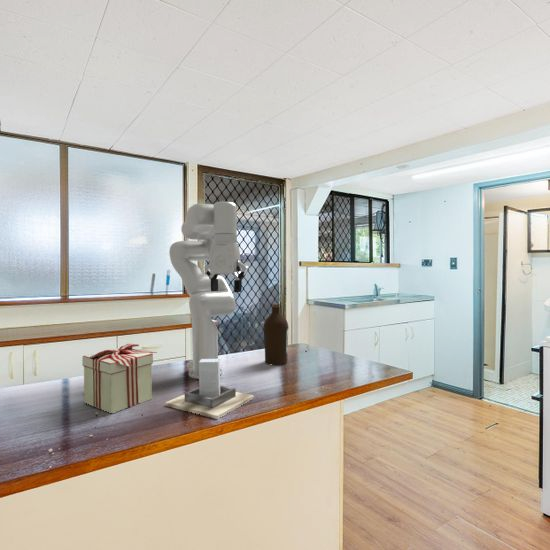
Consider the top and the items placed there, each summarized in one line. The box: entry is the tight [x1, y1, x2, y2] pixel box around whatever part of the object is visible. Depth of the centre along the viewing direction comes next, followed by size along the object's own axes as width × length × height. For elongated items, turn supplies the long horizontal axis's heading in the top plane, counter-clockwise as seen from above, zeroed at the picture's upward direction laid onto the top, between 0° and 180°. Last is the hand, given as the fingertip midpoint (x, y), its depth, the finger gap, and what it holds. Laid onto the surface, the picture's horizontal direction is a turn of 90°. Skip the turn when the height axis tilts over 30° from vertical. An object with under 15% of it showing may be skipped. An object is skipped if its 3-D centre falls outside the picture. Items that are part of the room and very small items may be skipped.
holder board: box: [165, 385, 255, 420], centre depth 118 cm, size 20×18×4 cm
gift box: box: [81, 343, 157, 414], centre depth 119 cm, size 17×18×17 cm
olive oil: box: [263, 303, 289, 366], centre depth 163 cm, size 11×11×25 cm
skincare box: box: [198, 358, 221, 398], centre depth 119 cm, size 6×4×12 cm
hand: (226, 291), depth 128 cm, fingers open, 9 cm apart
